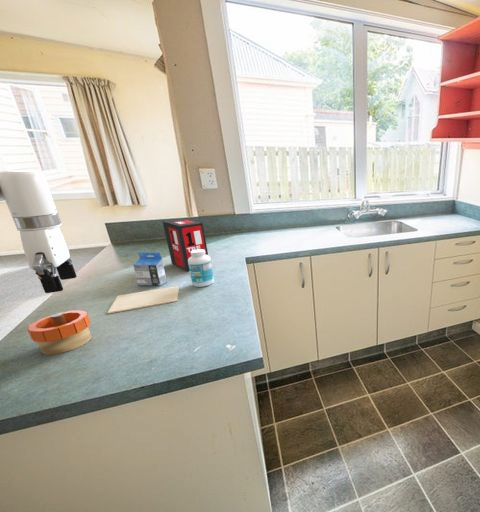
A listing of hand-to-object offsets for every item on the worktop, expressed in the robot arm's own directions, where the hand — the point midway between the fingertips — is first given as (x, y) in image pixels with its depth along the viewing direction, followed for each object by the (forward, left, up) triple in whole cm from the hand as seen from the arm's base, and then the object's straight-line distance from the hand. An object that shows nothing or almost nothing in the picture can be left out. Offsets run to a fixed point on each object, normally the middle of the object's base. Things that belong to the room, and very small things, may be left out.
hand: (62, 284), depth 79 cm
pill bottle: (+31, +21, -14) cm, 40 cm away
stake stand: (0, -7, -14) cm, 16 cm away
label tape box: (+14, +30, -14) cm, 36 cm away
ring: (0, -7, -10) cm, 12 cm away
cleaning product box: (+26, +48, -14) cm, 56 cm away
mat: (+14, +15, -14) cm, 25 cm away
